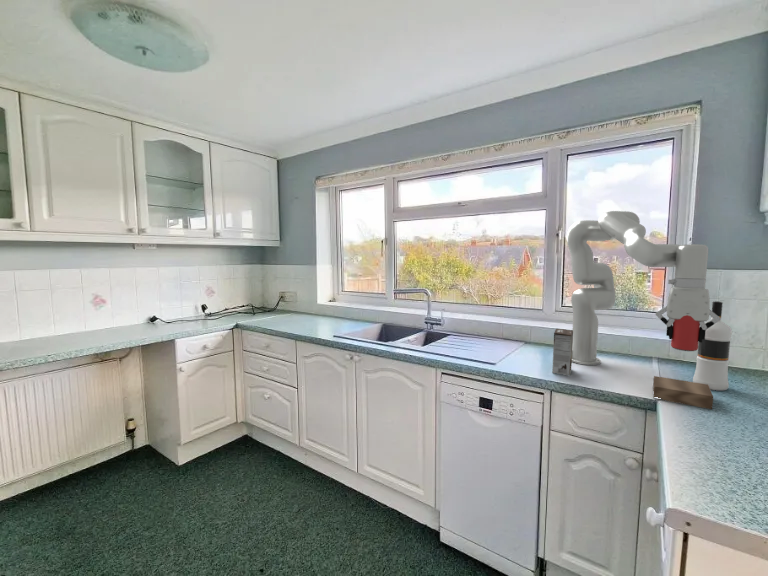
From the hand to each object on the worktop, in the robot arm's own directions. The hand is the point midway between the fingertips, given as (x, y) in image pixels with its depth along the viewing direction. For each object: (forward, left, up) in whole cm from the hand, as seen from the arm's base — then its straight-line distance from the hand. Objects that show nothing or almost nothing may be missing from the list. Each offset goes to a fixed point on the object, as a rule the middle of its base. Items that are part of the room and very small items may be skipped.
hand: (684, 339), depth 114 cm
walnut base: (0, 0, -19) cm, 19 cm away
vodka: (+9, +18, -19) cm, 28 cm away
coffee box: (-36, +6, -19) cm, 41 cm away
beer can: (0, 0, -3) cm, 3 cm away
